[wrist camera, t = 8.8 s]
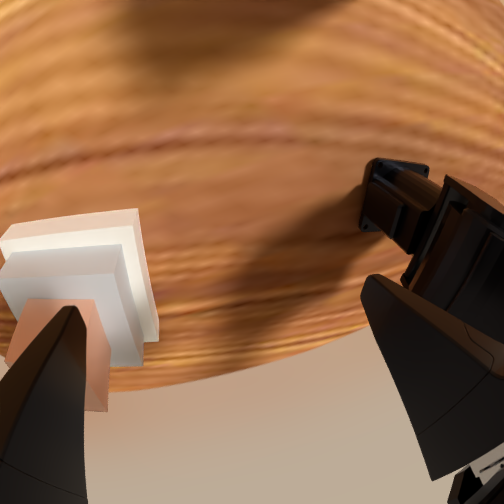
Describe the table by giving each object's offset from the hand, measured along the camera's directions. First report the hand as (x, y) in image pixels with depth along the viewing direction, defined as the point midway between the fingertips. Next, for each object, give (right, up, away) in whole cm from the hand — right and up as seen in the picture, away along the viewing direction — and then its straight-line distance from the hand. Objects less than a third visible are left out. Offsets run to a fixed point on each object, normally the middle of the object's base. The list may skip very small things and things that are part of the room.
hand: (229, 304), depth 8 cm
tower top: (-12, -2, +10) cm, 16 cm away
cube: (-11, -4, +8) cm, 14 cm away
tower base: (-13, 0, +12) cm, 18 cm away
